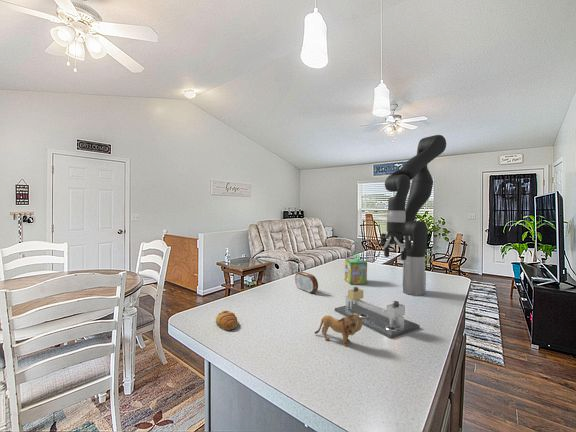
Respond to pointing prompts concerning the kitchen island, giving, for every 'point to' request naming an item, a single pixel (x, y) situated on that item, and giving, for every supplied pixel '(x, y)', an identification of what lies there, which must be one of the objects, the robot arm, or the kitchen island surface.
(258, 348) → the kitchen island surface
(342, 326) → the lion figurine
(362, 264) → the chalk box
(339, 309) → the bolt plate
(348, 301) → the divider frame
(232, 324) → the pastry
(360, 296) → the block
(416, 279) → the robot arm
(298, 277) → the tin
